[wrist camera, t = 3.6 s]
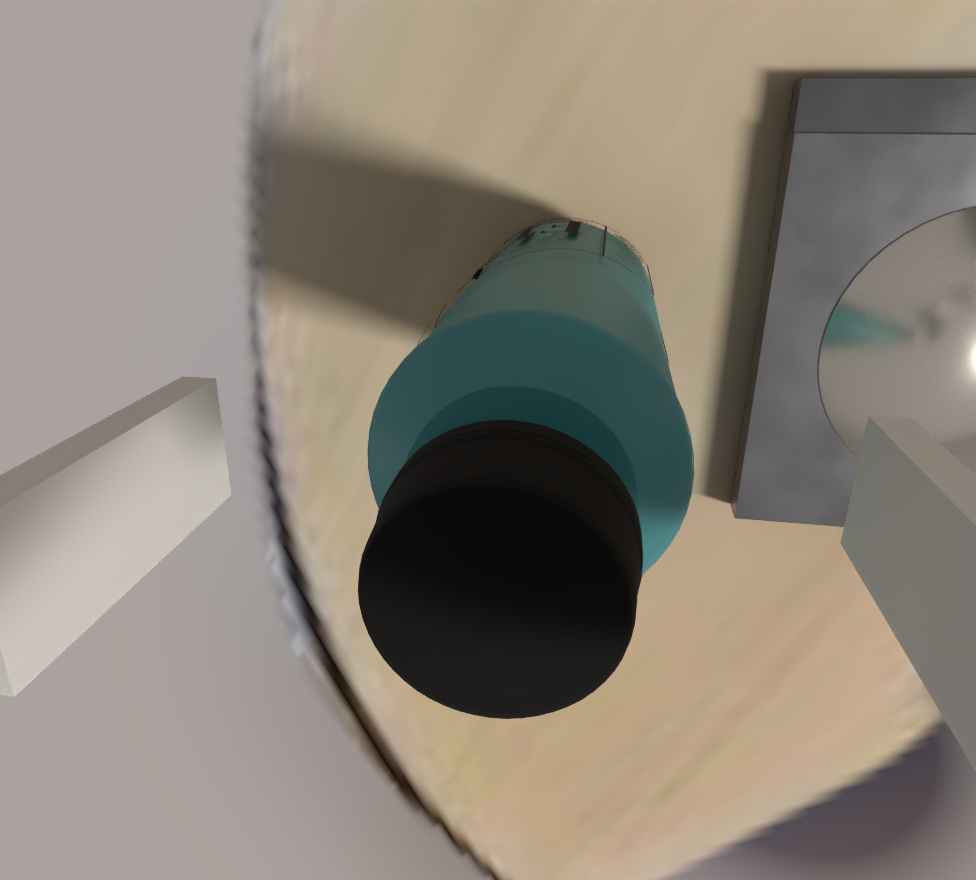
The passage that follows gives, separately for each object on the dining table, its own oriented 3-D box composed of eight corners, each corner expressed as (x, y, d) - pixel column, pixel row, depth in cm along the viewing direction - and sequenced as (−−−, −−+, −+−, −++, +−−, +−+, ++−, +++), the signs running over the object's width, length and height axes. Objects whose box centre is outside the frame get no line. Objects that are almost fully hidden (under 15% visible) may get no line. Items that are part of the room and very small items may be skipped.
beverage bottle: (601, 175, 26) (576, 266, 8) (688, 334, 28) (834, 718, 9) (451, 271, 28) (153, 517, 10) (539, 413, 30) (424, 850, 12)
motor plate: (795, 80, 24) (803, 77, 23) (1281, 80, 22) (1318, 76, 21) (730, 504, 30) (735, 518, 29) (1108, 533, 28) (1130, 550, 27)
